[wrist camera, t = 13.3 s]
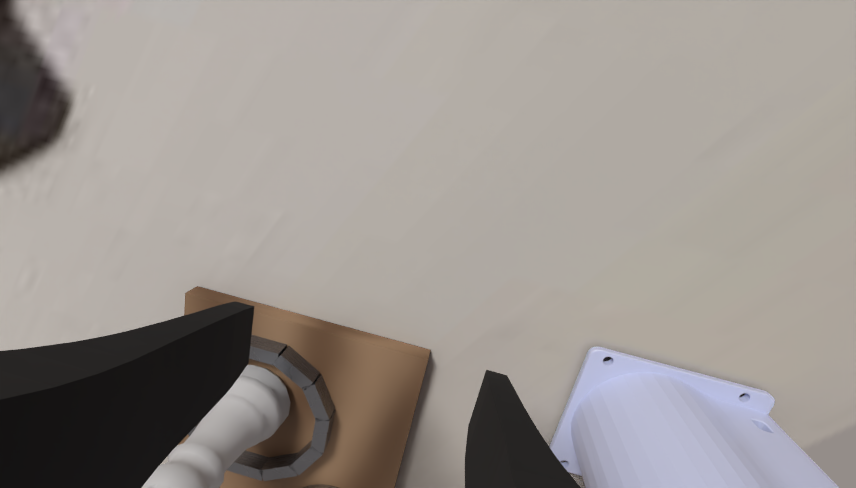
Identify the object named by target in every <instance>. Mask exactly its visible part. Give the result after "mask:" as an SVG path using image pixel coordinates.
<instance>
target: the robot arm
mask: <svg viewBox="0 0 856 488" xmlns="http://www.w3.org/2000/svg"><path fill="white" fill-rule="evenodd" d="M254 307H255V306H251V305H247V304H244V303H240V302H237V301H235V302H230V303H226V304H222V305H218V306H215V307H211V308H208V309H205V310H201V311H198V312H195V313H191V314H188V315H185V316H181V317H178V318H175V319H171V320H168V321H164V322H161V323H157V324H153V325H149V326H145V327H142V328H138V329H134V330H130V331H126V332H122V333H118V334H113V335H108V336H104V337H98V338H93V339H88V340H83V341H77V342H71V343H63V344H56V345H49V346H42V347H34V348H27V349H18V350H8V351H0V488H142V486H143V485H144V484H145V483H146V481H147V480H148V479H149V477H150V476H151V475H152V474H153V472H154V471H155V470H156V469H157V467H158V466H159V465H160V464H161V463H162V462H163V460H164V459H165V458H166V457H167V456H168V455H169V454H170V452H171V451H172V450H173V449H174V448H175V447H176V446H177V445H178V444H179V443H180V442H181V441H182V440H183V439H184V438H185V437H186V436H187V435H188V434H189V432H190V431H191V430H192V429H193V428H194V427H195V426H196V425H197V424H198V423H199V422H200V421H201V420H202V419H203V418H204V417H205V416H206V415H207V414H208V413H209V411H210V410H211V409H212V408H213V407H214V406H215V405H216V404H217V403H218V402H219V401H220V400H221V399H222V398H223V396H224V395H225V394H226V393H227V392H228V391H229V390H230V388H231V387H232V386H233V384H234V383H235V382H236V380H237V379H238V378H239V376H240V375H241V373H242V372H243V370H244V369H245V368H246V366H247V365H248V363H249V354H250V344H251V335H252V325H253V316H254ZM605 357H611V359H610V360H609V361H603V359H604V358H605ZM743 393H745V395H744V396H742V397H739V396H740V395H741V394H743ZM774 403H775V400H774V398H773V397H772V396H771V395H770V394H769V393H768V392H766V391H764V390H760V389H756V388H753V387H749V386H745V385H741V384H738V383H734V382H730V381H726V380H723V379H719V378H715V377H711V376H708V375H704V374H700V373H696V372H693V371H689V370H685V369H681V368H678V367H674V366H670V365H666V364H663V363H659V362H655V361H651V360H648V359H644V358H640V357H636V356H633V355H629V354H625V353H621V352H618V351H614V350H610V349H606V348H603V347H592V348H591V349H589V351H588V352H587V355H586V357H585V360H584V362H583V365H582V367H581V369H580V372H579V374H578V377H577V379H576V382H575V384H574V387H573V389H572V392H571V394H570V397H569V399H568V402H567V404H566V407H565V409H564V412H563V414H562V417H561V419H560V422H559V424H558V426H557V429H556V431H555V434H554V436H553V439H552V441H551V444H550V446H548V445H547V443H546V442H545V440H544V439H543V437H542V436H541V434H540V433H539V431H538V430H537V428H536V426H535V425H534V423H533V421H532V420H531V418H530V416H529V415H528V413H527V411H526V409H525V408H524V406H523V404H522V402H521V401H520V399H519V397H518V395H517V393H516V391H515V389H514V388H513V386H512V384H511V382H510V380H509V379H508V377H507V375H503V374H500V373H496V372H492V371H489V370H486V373H485V376H484V379H483V382H482V385H481V388H480V392H479V395H478V398H477V401H476V404H475V407H474V410H473V413H472V417H471V420H470V423H469V427H468V435H467V444H466V454H465V488H580V486H579V485H578V484H577V483H576V482H575V480H574V479H573V478H572V477H571V475H570V474H569V473H568V472H570V473H573V474H577V475H580V476H582V477H583V481H584V484H585V488H839V487H838V486H837V485H836V484H835V483H834V482H833V481H832V480H831V479H830V478H829V477H828V476H827V475H826V474H825V472H824V471H822V469H821V468H820V467H819V466H818V465H817V464H816V463H815V462H814V461H813V460H812V459H811V458H810V457H809V456H808V455H807V454H806V453H805V452H804V451H803V450H802V449H801V448H800V447H799V446H798V445H797V444H796V443H795V442H794V441H793V440H792V439H791V438H790V437H789V436H788V435H787V434H786V433H785V431H784V430H783V429H782V428H781V427H780V426H779V425H778V424H777V423H776V422H775V421H774V420H773V419H772V418H771V417H770V416H769V415H768V414H769V412H770V411H771V409H772V407H773V406H774ZM563 460H565V461H566V462H561V461H563Z"/></svg>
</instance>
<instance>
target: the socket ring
mask: <svg viewBox="0 0 856 488" xmlns="http://www.w3.org/2000/svg"><path fill="white" fill-rule="evenodd" d="M249 359H252V360H256V361H259V362H263V363H267V364H270V365H274V366H275V367H276V368H278V369H279V370H280V371H281V372H282V373H284V374H285V375H286V376H287V377H288V378H289V379H291V380H292V381H293V382H294V383H295V384H297V385H298V386H299V387H300V388H301V389H302V390H303V392H304V394H305V397H306V399H307V401H308V404H309V406H310V408H311V410H312V413H313V415H314V417H315V425H314V431H313V437H312V440H311V441H310V442H309V443H308V444H307V445H306V446H304V447H303V448H302V449H301V450H300V451H299V452H298V453H292V454H286V455H280V456H274V457H266V456H263V455H260V454H256V453H253V452H249V451H246V450H245V451H244V452H243V453H242V454H241V455H240V456H239V457H238V458H237V459H236V460H235V461H234V462H233V463H232V464H231V466H230V467H229V468H228V469H227V471H230V472H233V473H237V474H240V475H243V476H247V477H250V478H254V479H257V480H260V481H262V480H264V481H268V480H275V479H282V478H288V477H295V476H298V475H300V474H301V473H303V472H304V471H305V470H306V469H307V468H308V467H309V466H311V465H312V464H313V463H314V462H315V461H316V460H317V459H318V458H320V457H321V456H322V455H323V453H324V451H325V449H326V447H327V445H328V443H329V441H330V436H331V431H332V426H333V421H334V415H335V405H334V403H333V401H332V398H331V396H330V393H329V391H328V389H327V386H326V384H325V381H324V379H323V377H322V374H319V373H320V372H319V371H318V370H317V369H316V368H315V367H314V366H312V365H311V364H310V363H309V362H308V361H307V360H305V359H304V358H303V357H302V356H301V355H300V354H298V353H297V352H296V351H295V350H294V349H293V348H291V347H290V346H288V347H287V344H284V343H280V342H277V341H273V340H270V339H266V338H262V337H259V336H255V335H251V344H250V354H249ZM200 422H201V421H200ZM200 422H199V423H200ZM199 423H198V424H199ZM198 424H197V425H196V426H195V427H194V428H193V429H192V430H191V431H190V432H189V434H188V435H189V437H190V436H191V434H192V433H193V431H194V430H195V429H196V427H197V426H198Z"/></svg>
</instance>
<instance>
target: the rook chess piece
mask: <svg viewBox="0 0 856 488" xmlns="http://www.w3.org/2000/svg"><path fill="white" fill-rule="evenodd" d="M290 403H291V402H290V399H289V395H288V392H287V389H286V385H285V384H284V383H283V382H282V380H281V379H280V378H279V376H278V375H276V374H275V373H273V372H272V371H270V370H269V369H267V368H264V367H260V366H257V365H247V366H246V368H245V369H244V370H243V372H242V373H241V375H240V376H239V378H238V379H237V380H236V382H235V383H234V384H233V386H232V387H231V388H230V390H229V391H228V392H227V393H226V394H225V395H224V396H223V398H222V399H221V400H220V401H219V402H218V403H217V404H216V405H215V406H214V407H213V408H212V409H211V410H210V411H209V413H208V414H207V415H206V416H205V417H204V418H203V419H202V420H201V422H200V423H199V424H198V426H197V427H196V429H195V430H194V431H193V433H192V434H191V436H190V437H189V438H188V439H187V440H186V441H185V442H184V443H183V444H180V445H178V446H176V447H175V448H174V449H173V450H172V451H171V452H170V454H169V455H168V462H167V463H165V464H161V465H159V466H158V467H157V469H156V470H155V471H154V472H153V474H152V475H151V476H150V477H149V479H148V480H147V481H146V483H145V484H144V485H143V486H142V488H219V487H220V486H221V484H222V483H223V482H224V473H225V472H226V470H227V469H228V468H229V467H230V466H231V464H232V463H233V462H234V461H235V460H236V459H237V458H238V457H239V456H240V455H241V454H242V453H243V452H244V451H245V450H246V449H248V448H250V447H252V446H254V445H256V444H258V443H260V442H262V441H264V440H266V439H268V438H270V437H271V436H272V435H273V434H274V433H275V432H276V430H277V429H278V428H279V426H280V425H281V424H282V423H283V422H284V421H285V419H286V418H287V416H288V415H289V410H290Z"/></svg>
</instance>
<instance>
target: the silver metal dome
mask: <svg viewBox="0 0 856 488" xmlns="http://www.w3.org/2000/svg"><path fill="white" fill-rule="evenodd" d="M302 488H339V487H336V486H331V485H325V484H315V485H309V486H305V487H302Z"/></svg>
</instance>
